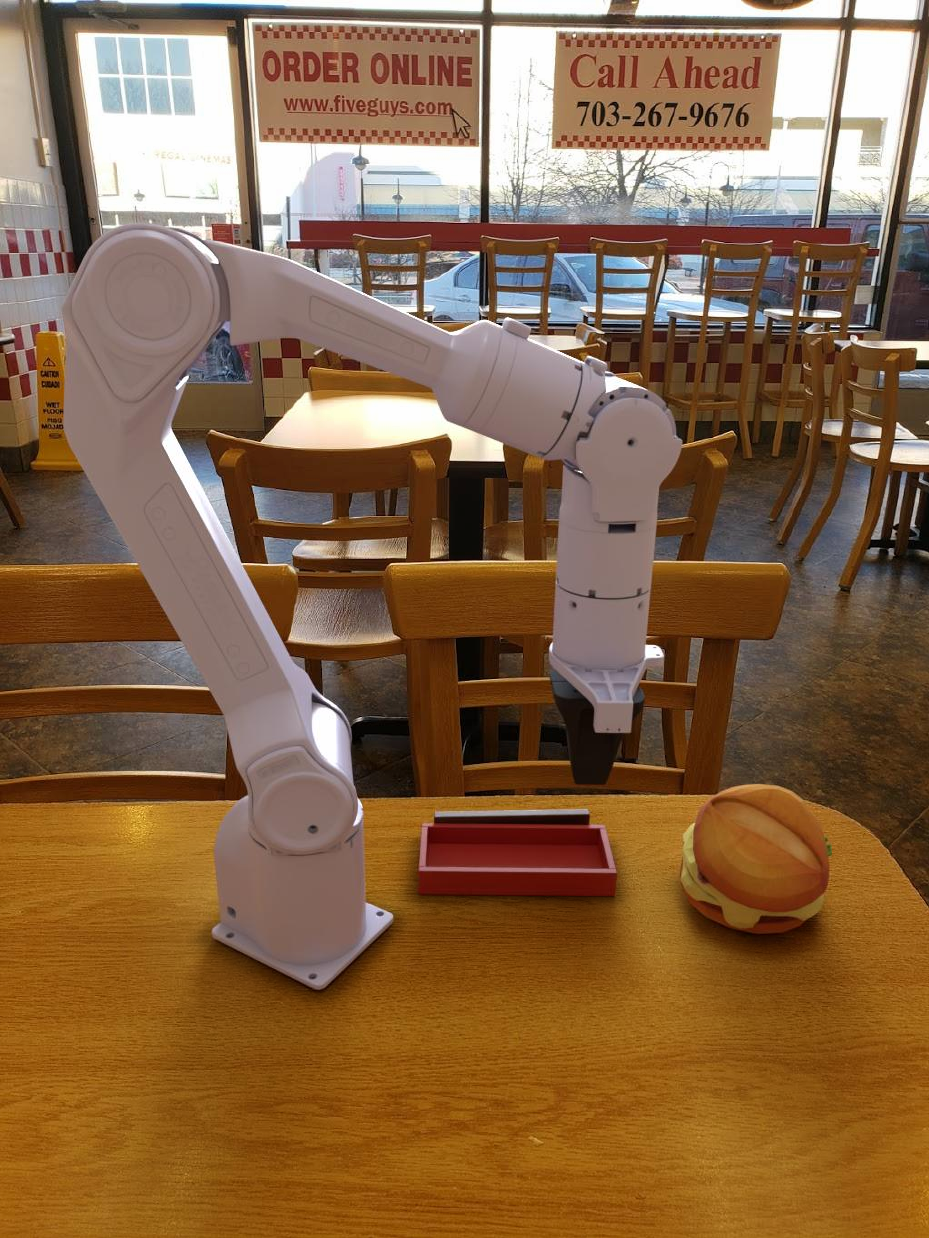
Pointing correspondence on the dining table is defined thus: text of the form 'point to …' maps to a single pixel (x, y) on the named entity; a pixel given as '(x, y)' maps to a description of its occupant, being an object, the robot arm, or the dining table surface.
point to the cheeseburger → (756, 860)
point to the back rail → (516, 817)
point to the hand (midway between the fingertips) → (589, 779)
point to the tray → (516, 860)
